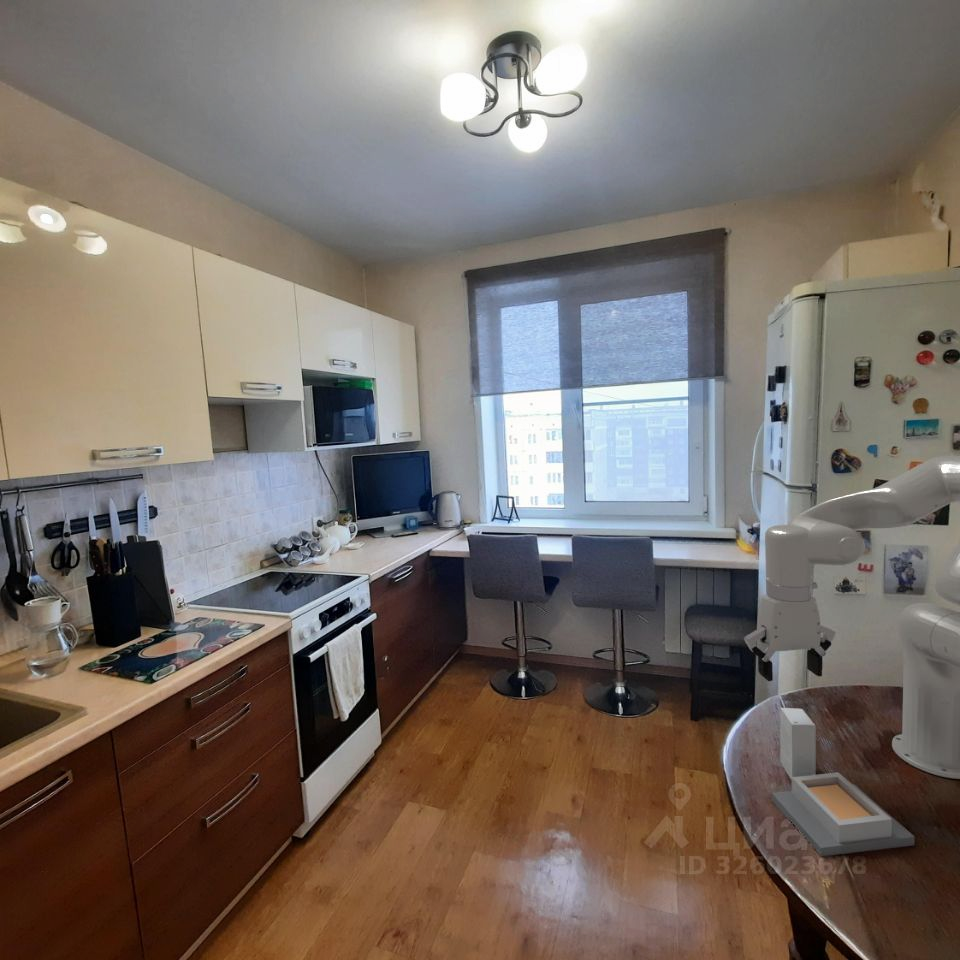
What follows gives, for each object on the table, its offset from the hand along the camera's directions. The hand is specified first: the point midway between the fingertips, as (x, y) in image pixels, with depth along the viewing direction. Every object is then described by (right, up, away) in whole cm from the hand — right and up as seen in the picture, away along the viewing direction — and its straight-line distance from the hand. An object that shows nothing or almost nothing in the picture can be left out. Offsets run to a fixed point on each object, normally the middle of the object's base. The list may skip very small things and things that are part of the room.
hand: (790, 675), depth 95 cm
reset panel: (+2, -22, -10) cm, 24 cm away
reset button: (+2, -20, -10) cm, 22 cm away
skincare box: (+3, -21, +2) cm, 21 cm away
